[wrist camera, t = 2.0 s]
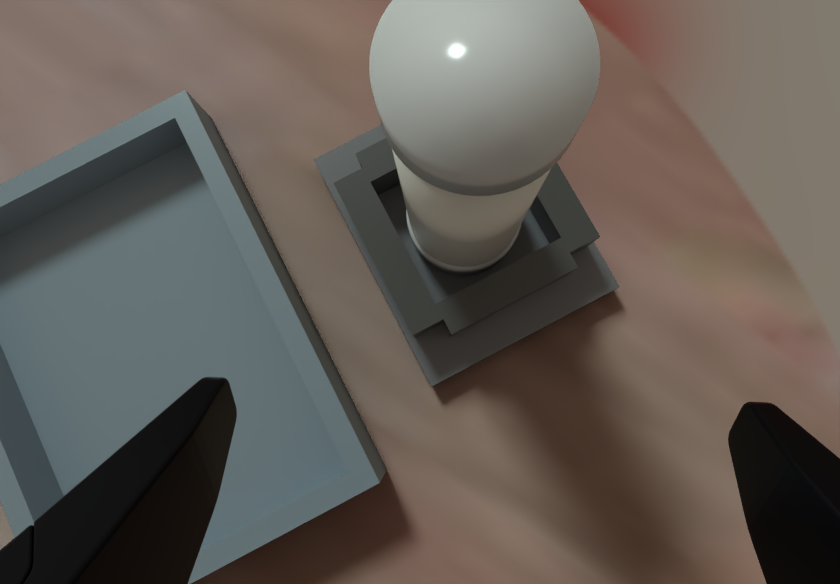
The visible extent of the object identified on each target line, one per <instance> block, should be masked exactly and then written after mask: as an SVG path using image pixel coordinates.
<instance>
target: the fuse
mask: <svg viewBox="0 0 840 584" xmlns="http://www.w3.org/2000/svg"><path fill="white" fill-rule="evenodd" d="M369 67H370V80H371V87H372V91H373V95H374V99H375V103H376V106H377V110H378V114H379V118H380V122H381V125H382V128H383V132H384V134H385V136H386V138H387V141H388V143H389V145H390V146H391V148H392V151H393V155H394V159H395V163H396V167H397V172H398V176H399V180H400V184H401V188H402V192H403V196H404V201H405V205H406V218H407V224H408V229H409V232H410V236H411V239H412V242H413V244H414V246H415V248H416V250H417V251H418V253H419V254H420V255H421V257H422V258H423V259H424V260H425V261H426V262H427V263H429V264H430V265H431V266H433V267H434V268H436V269H438V270H440V271H442V272H445V273H448V274H453V275H461V276H463V275H474V274H478V273H481V272H484V271H486V270H488V269H490V268H492V267H493V266H495V265H496V264H498V263H499V262H500V261H501V260H502V259H503V258H504V257H505V256H506V255H507V253H508V252H509V250H510V249H511V247H512V245H513V243H514V242H515V240H516V238H517V236H518V234H519V231H520V228H521V223H522V221H523V219H524V217H525V216H526V214H527V212H528V210H529V208H530V206H531V205H532V203H533V201H534V199H535V197H536V195H537V194H538V192H539V190H540V188H541V186H542V184H543V183H544V181H545V179H546V177H547V175H548V173H549V172H550V170H551V168H552V167H553V166H554V165H555V164H556V163H557V162H558V161H559V160H560V158H561V157H562V156H563V154H564V153H565V152H566V150H567V149H568V147H569V145H570V144H571V142H572V140H573V138H574V137H575V135H576V133H577V131H578V130H579V128H580V126H581V124H582V123H583V121H584V119H585V117H586V115H587V114H588V112H589V110H590V108H591V106H592V103H593V101H594V98H595V95H596V92H597V87H598V83H599V77H600V50H599V45H598V40H597V36H596V33H595V30H594V27H593V25H592V22H591V20H590V18H589V16H588V14H587V13H586V11H585V9H584V8H583V6H582V5H581V3H580V2H579V1H578V0H393V1H392V2H391V3H390V4H389V6H388V7H387V9H386V10H385V12H384V14H383V16H382V17H381V19H380V21H379V24H378V26H377V28H376V31H375V34H374V37H373V41H372V45H371V51H370V59H369Z"/></svg>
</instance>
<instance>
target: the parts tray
mask: <svg viewBox="0 0 840 584" xmlns="http://www.w3.org/2000/svg"><path fill="white" fill-rule="evenodd" d="M204 377H223V378H226V379H227V380H228V381H229V384H230V387H231V390H232V394H233V397H234V401H235V404H236V408H237V418H236V424H235V428H234V432H233V437H232V441H231V445H230V449H229V454H228V458H227V462H226V467H225V471H224V475H223V479H222V484H221V488H220V492H219V496H218V499H217V502H216V505H215V509H214V512H213V514H212V517H211V520H210V523H209V526H208V528H207V531H206V534H205V537H204V540H203V542H202V545H201V548H200V551H199V554H198V556H197V559H196V562H195V565H194V568H193V571H192V573H191V576H190V579H189V582H188V584H191V583H193V582H195V581H197V580H199V579H201V578H202V577H204V576H206V575H208V574H210V573H212V572H214V571H216V570H218V569H219V568H221V567H223V566H225V565H227V564H229V563H231V562H233V561H234V560H236V559H238V558H240V557H242V556H244V555H246V554H248V553H249V552H251V551H253V550H255V549H257V548H259V547H261V546H263V545H264V544H266V543H268V542H270V541H272V540H274V539H276V538H278V537H279V536H281V535H283V534H285V533H287V532H289V531H291V530H293V529H294V528H296V527H298V526H300V525H302V524H304V523H306V522H308V521H309V520H311V519H313V518H315V517H317V516H319V515H321V514H323V513H324V512H326V511H328V510H330V509H332V508H334V507H336V506H338V505H339V504H341V503H343V502H345V501H347V500H349V499H351V498H353V497H354V496H356V495H358V494H360V493H362V492H364V491H366V490H368V489H369V488H371V487H373V486H375V485H377V484H379V483H380V482H381V480H382V478H383V476H384V474H385V473H386V471H387V469H386V467H385V465H384V463H383V461H382V459H381V457H380V455H379V453H378V451H377V449H376V447H375V445H374V443H373V441H372V439H371V437H370V435H369V433H368V431H367V429H366V427H365V425H364V423H363V421H362V419H361V417H360V415H359V413H358V411H357V409H356V407H355V405H354V403H353V401H352V399H351V397H350V395H349V393H348V391H347V389H346V387H345V385H344V383H343V381H342V379H341V377H340V375H339V373H338V371H337V369H336V367H335V365H334V363H333V361H332V359H331V357H330V355H329V353H328V351H327V349H326V347H325V345H324V343H323V341H322V339H321V337H320V335H319V333H318V331H317V329H316V327H315V325H314V323H313V321H312V319H311V317H310V315H309V313H308V311H307V309H306V307H305V305H304V303H303V301H302V299H301V297H300V295H299V293H298V291H297V289H296V287H295V285H294V283H293V281H292V279H291V276H290V274H289V272H288V270H287V268H286V266H285V264H284V262H283V260H282V258H281V256H280V254H279V252H278V250H277V248H276V246H275V244H274V242H273V240H272V238H271V236H270V234H269V232H268V230H267V228H266V226H265V224H264V222H263V220H262V218H261V216H260V214H259V212H258V210H257V208H256V206H255V204H254V202H253V200H252V198H251V196H250V194H249V192H248V190H247V188H246V186H245V184H244V182H243V180H242V178H241V176H240V174H239V172H238V170H237V168H236V166H235V164H234V162H233V160H232V158H231V156H230V154H229V152H228V150H227V148H226V146H225V144H224V142H223V140H222V138H221V136H220V134H219V132H218V130H217V128H216V126H215V124H214V122H213V120H212V118H211V117H210V116H209V115H208V114H207V113H206V112H205V111H204V110H203V108H202V107H201V106H200V105H199V104H198V103H197V102H196V101H195V100H194V99H193V98H192V97H191V96H190V95H189V93H188V92H187V91H186V90H184V91H182V92H180V93H178V94H177V95H175V96H173V97H171V98H169V99H167V100H165V101H163V102H161V103H159V104H157V105H155V106H153V107H151V108H149V109H147V110H145V111H143V112H141V113H139V114H137V115H135V116H133V117H131V118H130V119H128V120H126V121H124V122H122V123H120V124H118V125H116V126H114V127H112V128H110V129H108V130H106V131H104V132H102V133H100V134H98V135H96V136H94V137H92V138H90V139H88V140H86V141H84V142H83V143H81V144H79V145H77V146H75V147H73V148H71V149H69V150H67V151H65V152H63V153H61V154H59V155H57V156H55V157H53V158H51V159H49V160H47V161H45V162H43V163H41V164H39V165H37V166H36V167H34V168H32V169H30V170H28V171H26V172H24V173H22V174H20V175H18V176H16V177H14V178H12V179H10V180H8V181H6V182H4V183H2V184H0V502H1V504H2V507H3V509H4V512H5V514H6V517H7V519H8V522H9V524H10V527H11V529H12V532H13V534H14V537H16V536H18V535H19V534H20V533H21V532H22V531H23V530H25V529H26V528H27V527H28V526H30V525H33V526H34V522H35V520H37V519H38V518H39V517H40V516H41V515H42V514H44V513H45V512H46V511H47V510H48V509H49V508H51V507H52V506H53V505H54V504H55V503H56V502H58V501H59V500H60V499H61V498H62V497H63V496H65V495H66V494H67V493H68V492H69V491H70V490H72V489H73V488H74V487H75V486H76V485H77V484H79V483H80V482H81V481H82V480H83V479H84V478H86V477H87V476H88V475H89V474H90V473H91V472H93V471H94V470H95V469H96V468H97V467H98V466H100V465H101V464H102V463H103V462H104V461H105V460H107V459H108V458H109V457H110V456H111V455H112V454H114V453H115V452H116V451H117V450H118V449H119V448H121V447H122V446H123V445H124V444H125V443H126V442H128V441H129V440H130V439H131V438H132V437H133V436H135V435H136V434H137V433H138V432H139V431H140V430H142V429H143V428H144V427H145V426H146V425H147V424H149V423H150V422H151V421H152V420H153V419H154V418H156V417H157V416H158V415H159V414H160V413H161V412H163V411H164V410H165V409H166V408H167V407H168V406H170V405H171V404H172V403H173V402H174V401H175V400H177V399H178V398H179V397H180V396H181V395H182V394H184V393H185V392H186V391H187V390H188V389H189V388H191V387H192V386H193V385H194V384H195V383H196V382H198V381H199V380H200V379H202V378H204Z"/></svg>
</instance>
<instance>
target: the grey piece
mask: <svg viewBox="0 0 840 584" xmlns="http://www.w3.org/2000/svg"><path fill="white" fill-rule="evenodd" d="M314 161H315V163H316V165H317V167H318V169H319V171H320V173H321V175H322V177H323V179H324V180H325V182H326V184H327V186H328V188H329V190H330V192H331V194H332V196H333V198H334V200H335V202H336V204H337V205H338V207H339V209H340V211H341V213H342V215H343V217H344V219H345V221H346V223H347V225H348V227H349V229H350V230H351V232H352V234H353V236H354V238H355V240H356V242H357V244H358V246H359V248H360V250H361V252H362V254H363V255H364V257H365V259H366V261H367V263H368V265H369V267H370V269H371V271H372V273H373V275H374V277H375V279H376V280H377V282H378V284H379V286H380V288H381V290H382V292H383V294H384V296H385V298H386V300H387V302H388V304H389V305H390V307H391V309H392V311H393V313H394V315H395V317H396V319H397V321H398V323H399V325H400V327H401V329H402V331H403V332H404V334H405V336H406V338H407V340H408V342H409V344H410V346H411V348H412V350H413V352H414V354H415V356H416V357H417V359H418V361H419V363H420V365H421V367H422V369H423V371H424V373H425V375H426V377H427V379H428V381H429V382H430V384H431V386H434V385H436V384H438V383H440V382H441V381H443V380H445V379H447V378H449V377H451V376H453V375H455V374H457V373H458V372H460V371H462V370H464V369H466V368H468V367H470V366H472V365H474V364H475V363H477V362H479V361H481V360H483V359H485V358H487V357H489V356H491V355H492V354H494V353H496V352H498V351H500V350H502V349H504V348H506V347H507V346H509V345H511V344H513V343H515V342H517V341H519V340H521V339H523V338H524V337H526V336H528V335H530V334H532V333H534V332H536V331H538V330H540V329H541V328H543V327H545V326H547V325H549V324H551V323H553V322H555V321H557V320H558V319H560V318H562V317H564V316H566V315H568V314H570V313H572V312H574V311H575V310H577V309H579V308H581V307H583V306H585V305H587V304H589V303H591V302H592V301H594V300H596V299H598V298H600V297H602V296H604V295H606V294H607V293H609V292H611V291H613V290H615V289H617V288H619V285H618V283H617V281H616V280H615V278H614V276H613V275H612V273H611V271H610V269H609V268H608V266H607V264H606V262H605V261H604V259H603V257H602V256H601V254H600V252H599V250H598V249H597V247H596V245H595V244H594V241H595V240H596V239H598V238H599V237H600V236H599V234H598V232H597V231H596V229H595V227H594V225H593V224H592V222H591V220H590V219H589V217H588V215H587V213H586V212H585V210H584V208H583V207H582V205H581V203H580V201H579V200H578V198H577V196H576V195H575V193H574V191H573V189H572V188H571V186H570V184H569V183H568V181H567V179H566V177H565V176H564V174H563V172H562V171H561V169H560V167H559V165H558V164H557V163H556V164H555V165H554V166H553V167H552V168H551V170H550V172H549V173H548V175H547V177H546V179H545V181H544V183H543V184H542V186H541V188H540V190H539V192H538V194H537V195H536V197H535V199H534V201H533V203H532V205H531V206H530V208H529V210H528V212H527V214H526V216H525V217H524V219H523V221H522V223H521V228H520V231H519V234H518V236H517V238H516V240H515V242H514V243H513V245H512V247H511V249H510V250H509V252H508V253H507V255H506V256H505V257H504V258H503V259H502V260H501V261H500V262H499V263H498V264H496V265H495V266H493V267H492V268H490V269H488V270H486V271H484V272H481V273H478V274H474V275H463V276H461V275H453V274H448V273H445V272H442V271H440V270H438V269H436V268H434V267H433V266H431V265H430V264H429V263H427V262H426V261H425V260H424V259H423V258H422V257H421V255H420V254H419V253H418V251H417V250H416V248H415V246H414V244H413V242H412V239H411V236H410V232H409V229H408V224H407V218H406V205H405V201H404V196H403V192H402V188H401V184H400V180H399V176H398V172H397V167H396V163H395V159H394V155H393V151H392V148H391V146H390V145H389V143H388V141H387V138H386V136H385V134H384V132H383V128H382V125H380V126H378V127H376V128H374V129H372V130H370V131H368V132H366V133H364V134H362V135H360V136H358V137H357V138H355V139H353V140H351V141H349V142H347V143H345V144H343V145H341V146H339V147H337V148H335V149H333V150H331V151H329V152H327V153H326V154H324V155H322V156H320V157H318V158H316V159H314Z"/></svg>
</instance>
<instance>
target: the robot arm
mask: <svg viewBox="0 0 840 584" xmlns="http://www.w3.org/2000/svg"><path fill="white" fill-rule="evenodd" d="M236 418H237V408H236V404H235V401H234V397H233V394H232V390H231V387H230V384H229V381H228V380H227V379H226V378H223V377H204V378H202V379H200V380H199V381H198V382H196V383H195V384H194V385H193V386H192V387H191V388H189V389H188V390H187V391H186V392H185V393H184V394H182V395H181V396H180V397H179V398H178V399H177V400H175V401H174V402H173V403H172V404H171V405H170V406H168V407H167V408H166V409H165V410H164V411H163V412H161V413H160V414H159V415H158V416H157V417H156V418H154V419H153V420H152V421H151V422H150V423H149V424H147V425H146V426H145V427H144V428H143V429H142V430H140V431H139V432H138V433H137V434H136V435H135V436H133V437H132V438H131V439H130V440H129V441H128V442H126V443H125V444H124V445H123V446H122V447H121V448H119V449H118V450H117V451H116V452H115V453H114V454H112V455H111V456H110V457H109V458H108V459H107V460H105V461H104V462H103V463H102V464H101V465H100V466H98V467H97V468H96V469H95V470H94V471H93V472H91V473H90V474H89V475H88V476H87V477H86V478H84V479H83V480H82V481H81V482H80V483H79V484H77V485H76V486H75V487H74V488H73V489H72V490H70V491H69V492H68V493H67V494H66V495H65V496H63V497H62V498H61V499H60V500H59V501H58V502H56V503H55V504H54V505H53V506H52V507H51V508H49V509H48V510H47V511H46V512H45V513H44V514H42V515H41V516H40V517H39V518H38V519H37V520H35V522H34V526H33V525H30V526H28V527H27V528H26V529H25V530H23V531H22V532H21V533H20V534H19V535H18V536H16V537H15V538H14V539H13V540H12V541H11V542H9V543H8V544H7V545H6V546H5V547H3V548H2V549H1V550H0V584H188V582H189V579H190V576H191V573H192V571H193V568H194V565H195V562H196V559H197V556H198V554H199V551H200V548H201V545H202V542H203V540H204V537H205V534H206V531H207V528H208V526H209V523H210V520H211V517H212V514H213V512H214V509H215V505H216V502H217V499H218V496H219V492H220V488H221V484H222V479H223V475H224V471H225V467H226V462H227V458H228V454H229V449H230V445H231V441H232V437H233V432H234V428H235V424H236ZM728 442H729V448H730V453H731V457H732V462H733V466H734V471H735V475H736V480H737V484H738V488H739V493H740V497H741V502H742V506H743V511H744V515H745V519H746V523H747V527H748V530H749V533H750V536H751V540H752V543H753V546H754V548H755V551H756V554H757V557H758V560H759V563H760V566H761V569H762V571H763V574H764V577H765V580H766V583H767V584H840V458H838V457H837V456H836V455H835V454H834V453H832V452H831V451H830V450H829V449H828V448H826V447H825V446H824V445H823V444H821V443H820V442H819V441H818V440H817V439H815V438H814V437H813V436H812V435H811V434H809V433H808V432H807V431H806V430H805V429H803V428H802V427H801V426H800V425H799V424H797V423H796V422H795V421H794V420H793V419H791V418H790V417H789V416H788V415H787V414H785V413H784V412H783V411H782V410H781V409H779V408H778V407H777V406H775V405H774V404H772V403H767V402H747V403H745V404H744V405H743V406H742V408H741V410H740V412H739V414H738V416H737V418H736V420H735V422H734V424H733V426H732V428H731V430H730V432H729V438H728Z"/></svg>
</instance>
